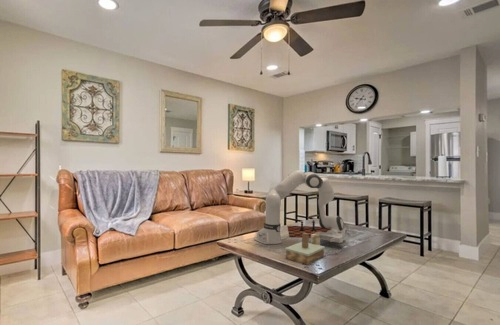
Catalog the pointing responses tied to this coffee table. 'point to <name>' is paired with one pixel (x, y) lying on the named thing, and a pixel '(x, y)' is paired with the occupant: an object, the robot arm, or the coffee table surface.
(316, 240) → the tan wooden block
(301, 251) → the lid
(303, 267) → the coffee table surface
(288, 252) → the open wooden box
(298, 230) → the chessboard
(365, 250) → the coffee table surface
